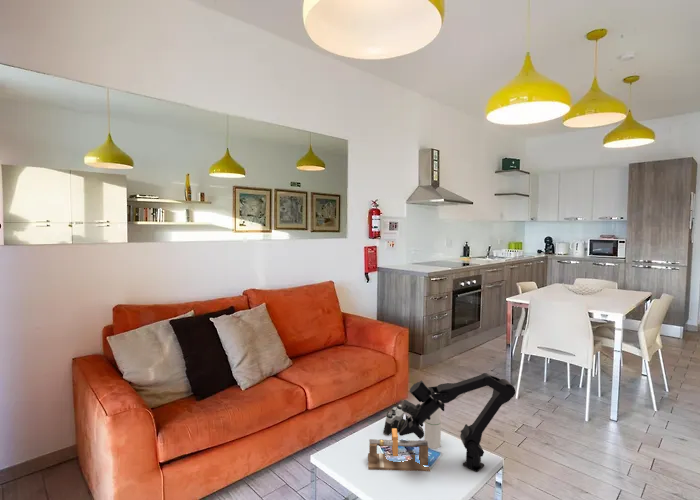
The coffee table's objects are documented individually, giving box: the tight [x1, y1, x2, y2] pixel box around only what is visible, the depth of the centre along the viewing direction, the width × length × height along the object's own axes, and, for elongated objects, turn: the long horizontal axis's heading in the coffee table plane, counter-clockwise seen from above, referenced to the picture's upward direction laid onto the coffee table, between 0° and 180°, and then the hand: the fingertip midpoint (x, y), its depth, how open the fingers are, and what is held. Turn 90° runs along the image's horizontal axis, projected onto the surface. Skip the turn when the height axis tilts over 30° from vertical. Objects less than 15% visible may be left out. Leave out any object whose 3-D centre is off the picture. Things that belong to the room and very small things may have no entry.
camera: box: [383, 404, 406, 436], centre depth 187 cm, size 15×11×10 cm
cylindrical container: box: [424, 393, 442, 450], centre depth 175 cm, size 7×7×25 cm
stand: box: [367, 438, 431, 472], centre depth 160 cm, size 25×10×8 cm, turn 88°
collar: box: [391, 428, 399, 456], centre depth 160 cm, size 2×7×8 cm, turn 178°
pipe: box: [370, 438, 428, 448], centre depth 160 cm, size 24×2×2 cm, turn 88°
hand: (399, 434), depth 160 cm, fingers closed
